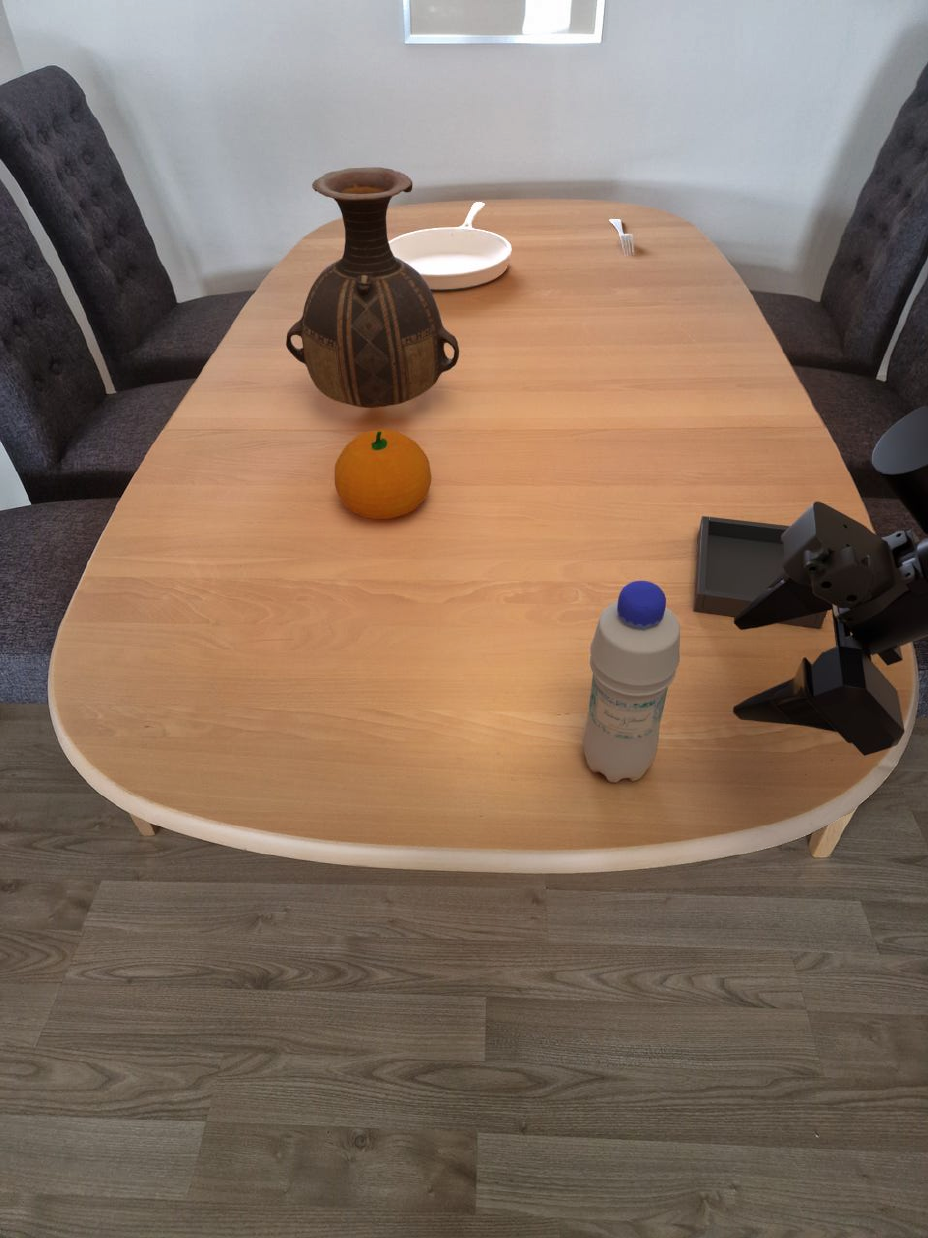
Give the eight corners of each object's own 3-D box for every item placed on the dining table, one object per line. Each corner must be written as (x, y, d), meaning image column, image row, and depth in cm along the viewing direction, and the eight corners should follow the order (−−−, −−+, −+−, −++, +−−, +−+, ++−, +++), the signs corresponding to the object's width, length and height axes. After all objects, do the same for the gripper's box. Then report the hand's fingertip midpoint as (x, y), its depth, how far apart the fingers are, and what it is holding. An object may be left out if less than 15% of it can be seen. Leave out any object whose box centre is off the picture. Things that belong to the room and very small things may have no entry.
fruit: (447, 484, 102) (443, 413, 96) (411, 538, 95) (404, 465, 88) (363, 469, 106) (353, 399, 99) (322, 520, 98) (308, 448, 91)
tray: (812, 546, 91) (818, 529, 89) (821, 629, 82) (827, 611, 80) (698, 533, 94) (702, 515, 92) (693, 611, 84) (697, 593, 82)
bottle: (571, 782, 69) (589, 612, 55) (586, 723, 74) (605, 553, 60) (650, 800, 68) (688, 630, 54) (660, 738, 72) (698, 567, 58)
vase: (279, 421, 115) (230, 193, 94) (348, 363, 128) (319, 150, 107) (422, 454, 108) (403, 214, 87) (481, 389, 120) (477, 165, 99)
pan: (362, 289, 149) (359, 263, 146) (425, 221, 175) (423, 198, 172) (493, 300, 144) (493, 273, 141) (538, 228, 170) (538, 205, 167)
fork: (619, 231, 174) (620, 217, 172) (636, 255, 157) (638, 240, 155) (606, 232, 174) (607, 218, 172) (622, 256, 157) (623, 240, 155)
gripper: (871, 408, 54) (677, 521, 64) (913, 590, 41) (660, 697, 51) (953, 518, 58) (758, 609, 67) (1015, 717, 45) (762, 793, 54)
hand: (736, 667), depth 60 cm, fingers open, 9 cm apart
